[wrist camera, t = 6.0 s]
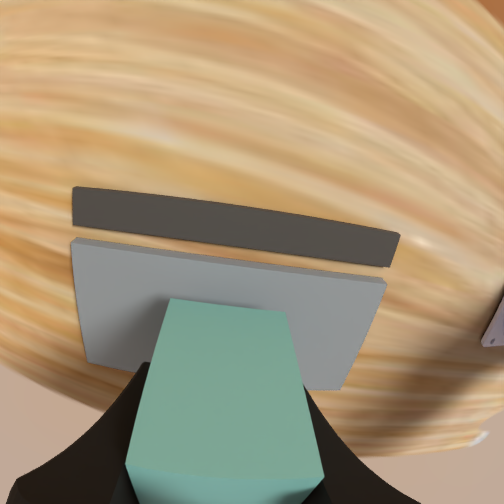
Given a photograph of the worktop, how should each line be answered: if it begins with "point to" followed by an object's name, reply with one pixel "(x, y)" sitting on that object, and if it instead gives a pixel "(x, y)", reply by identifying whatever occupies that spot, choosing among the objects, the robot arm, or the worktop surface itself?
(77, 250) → the mat
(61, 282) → the worktop surface
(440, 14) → the worktop surface
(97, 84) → the worktop surface
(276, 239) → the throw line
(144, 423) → the block
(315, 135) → the worktop surface
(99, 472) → the robot arm
